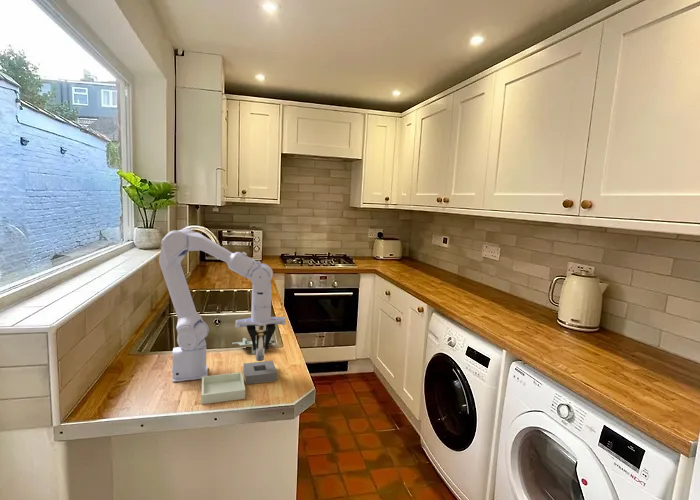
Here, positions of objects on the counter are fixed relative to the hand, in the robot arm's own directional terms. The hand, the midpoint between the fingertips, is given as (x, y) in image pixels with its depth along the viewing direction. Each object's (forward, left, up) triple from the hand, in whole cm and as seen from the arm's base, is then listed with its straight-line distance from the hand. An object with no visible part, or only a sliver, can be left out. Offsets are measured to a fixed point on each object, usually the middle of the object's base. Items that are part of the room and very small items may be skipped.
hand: (260, 348), depth 113 cm
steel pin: (0, 0, -3) cm, 3 cm away
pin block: (0, 0, -9) cm, 9 cm away
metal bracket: (+1, +23, -9) cm, 25 cm away
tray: (-11, -7, -9) cm, 16 cm away
